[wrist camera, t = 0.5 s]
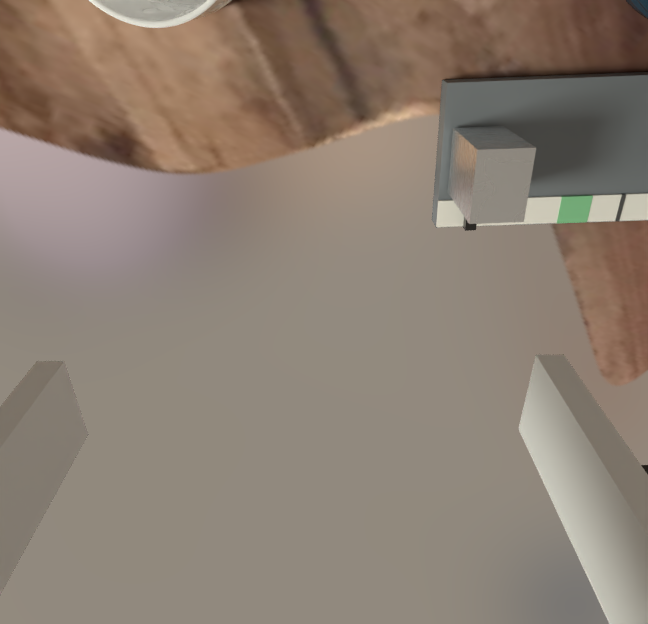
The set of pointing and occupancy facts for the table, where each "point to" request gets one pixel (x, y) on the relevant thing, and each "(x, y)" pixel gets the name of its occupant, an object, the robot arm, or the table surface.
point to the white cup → (159, 11)
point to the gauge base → (558, 143)
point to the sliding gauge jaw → (490, 175)
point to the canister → (640, 6)
